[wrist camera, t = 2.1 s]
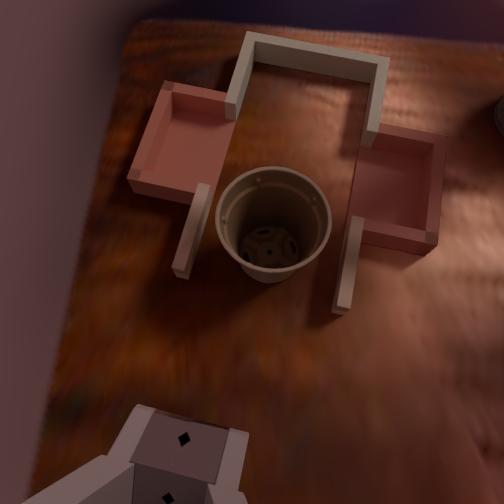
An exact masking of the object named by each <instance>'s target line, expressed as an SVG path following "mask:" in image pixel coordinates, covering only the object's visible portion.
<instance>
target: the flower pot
mask: <svg viewBox="0 0 504 504" xmlns="http://www.w3.org/2000/svg"><path fill="white" fill-rule="evenodd" d="M215 224H216V230H217V234H218V237H219V239H220V241H221V243H222V245H223V247H224V248H225V250H226V251H227V252H228V253H229V255H230V256H231V257H232V258H234V259H235V260H236V261H237V262H239V263H240V265H241V267H242V268H243V270H244V271H245V273H246V274H248V275H249V276H250V277H252V278H253V279H255V280H257V281H260V282H263V283H277V282H280V281H283V280H285V279H287V278H288V277H290V276H291V275H292V274H293V273H294V272H295V271H296V270H297V269H298V268H301V267H303V266H305V265H306V264H308V263H310V262H311V261H312V260H313V259H314V258H316V257H317V256H318V255H319V253H320V252H321V251H322V250H323V248H324V247H325V245H326V243H327V241H328V239H329V236H330V233H331V228H332V214H331V210H330V205H329V203H328V201H327V199H326V197H325V195H324V193H323V192H322V191H321V189H320V188H319V187H318V186H317V185H316V184H315V183H314V182H313V181H312V180H311V179H309V178H308V177H306V176H305V175H303V174H301V173H299V172H297V171H294V170H292V169H288V168H284V167H277V166H270V167H261V168H257V169H254V170H251V171H248V172H246V173H244V174H242V175H240V176H239V177H237V178H236V179H235V180H233V181H232V182H231V183H230V184H229V185H228V187H227V188H226V189H225V190H224V192H223V193H222V195H221V197H220V199H219V201H218V204H217V208H216V214H215ZM264 230H267V231H269V233H265V234H259V233H258V232H261V231H264ZM290 242H293V243H294V245H295V247H296V253H293V251H292V248H291V245H290ZM268 250H270V251H271V252H272V253H271V254H269V253H268V252H267V251H268ZM244 253H247V254H248V258H249V262H250V263H249V262H246V261H244Z"/></svg>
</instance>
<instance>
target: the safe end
mask: <svg viewBox="0 0 504 504" xmlns="http://www.w3.org/2000/svg"><path fill="white" fill-rule="evenodd" d="M389 60H390V58H389V57H384V56H378V55H373V54H368V53H362V52H357V51H351V50H346V49H341V48H335V47H330V46H324V45H319V44H314V43H308V42H303V41H298V40H292V39H287V38H281V37H276V36H271V35H265V34H260V33H254V32H249V31H247V33H246V36H245V39H244V42H243V45H242V48H241V51H240V55H239V58H238V61H237V64H236V67H235V70H234V73H233V77H232V80H231V83H230V86H229V89H228V92H227V95H226V99H225V115H226V119H229V120H234V121H237V118H238V114H239V111H240V108H241V104H242V101H243V98H244V94H245V91H246V88H247V84H248V81H249V78H250V74H251V71H252V68H253V64H254V61H255V62H261V63H266V64H271V65H276V66H282V67H287V68H292V69H297V70H303V71H308V72H313V73H318V74H324V75H329V76H334V77H339V78H345V79H350V80H355V81H360V82H366V83H370V89H369V95H368V100H367V106H366V112H365V118H364V124H363V129H362V135H361V141H360V146H363V147H368V148H371V146H372V144H373V142H374V140H375V138H376V135H377V133H378V129H379V123H380V118H381V112H382V105H383V99H384V92H385V86H386V80H387V73H388V67H389Z"/></svg>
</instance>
